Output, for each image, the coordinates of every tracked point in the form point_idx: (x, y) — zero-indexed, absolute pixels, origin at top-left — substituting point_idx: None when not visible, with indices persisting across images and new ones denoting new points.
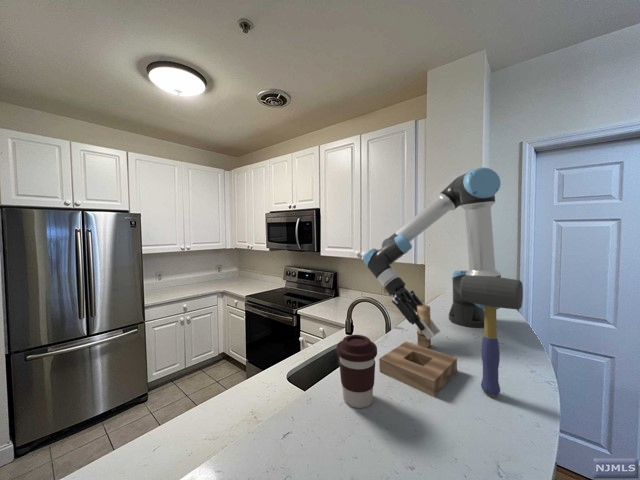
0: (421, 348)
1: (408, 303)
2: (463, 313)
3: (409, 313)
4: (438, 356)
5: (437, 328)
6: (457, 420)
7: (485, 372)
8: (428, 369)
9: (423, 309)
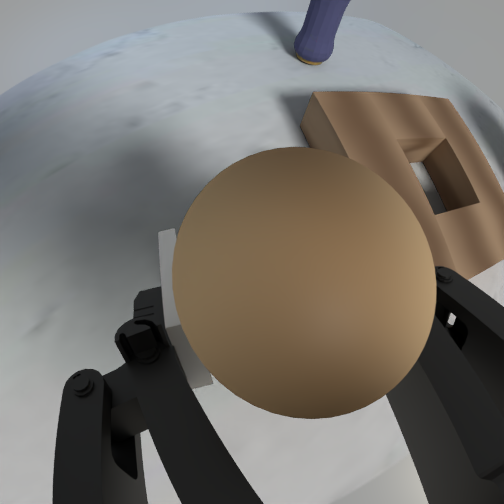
0: None
1: (498, 459)
2: None
3: (498, 305)
4: (370, 132)
5: (174, 239)
6: (421, 81)
7: (340, 20)
8: (440, 122)
9: (389, 204)
